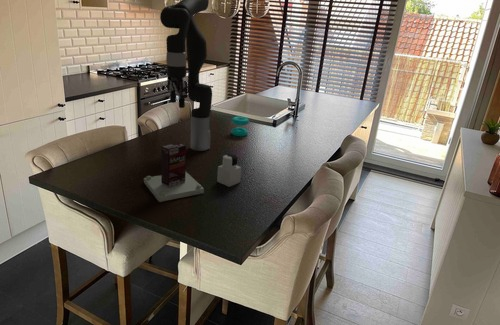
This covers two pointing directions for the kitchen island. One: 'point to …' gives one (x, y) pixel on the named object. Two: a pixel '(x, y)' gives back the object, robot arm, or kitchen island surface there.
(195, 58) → the robot arm
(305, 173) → the kitchen island surface
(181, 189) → the stud plate
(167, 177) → the supplement box
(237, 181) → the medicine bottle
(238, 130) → the donuts
